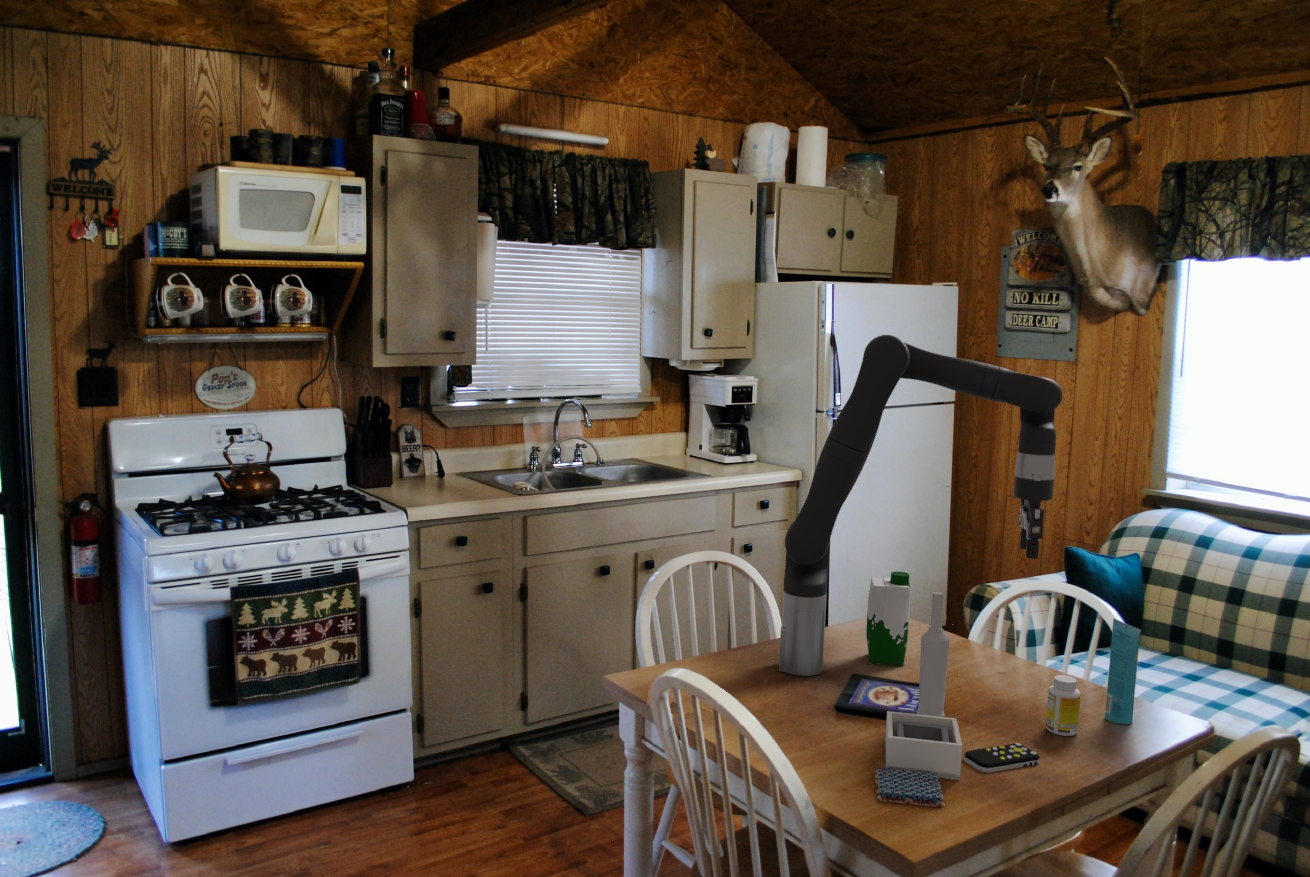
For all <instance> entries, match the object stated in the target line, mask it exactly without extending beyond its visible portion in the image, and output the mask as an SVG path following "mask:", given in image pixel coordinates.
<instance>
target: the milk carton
mask: <svg viewBox="0 0 1310 877" xmlns="http://www.w3.org/2000/svg"><path fill="white" fill-rule="evenodd" d="M910 586H911V585H910V573H908V572H905V571H892V572H891V573H890V577H873V576H872V577H870V585H869V591H868V592H869V593H868V598H867V612H866V613H867V614H866V616H867V617H866V628H865V629H866V631H865V633H866V634H865V637H866V643H867V644H866V645H867V649H868V650H867V651H868V656H869V657H868V658H869V661H870V664H871V665H872V664H873V665H884V666H885V665H887V666H901V667H903V666H904V665H905V660H906V659H905V658H906V652H907V646H908V638H909V623H910V622H909V621H910V606H911V605H910V602H911V601H910V600H911V599H910V596H911V595H910V594H911V593H910V592H911V587H910Z"/></svg>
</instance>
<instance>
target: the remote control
mask: <svg viewBox="0 0 1310 877" xmlns="http://www.w3.org/2000/svg"><path fill="white" fill-rule="evenodd" d="M1040 759H1041V757H1040V754H1038V752H1036V751H1034V750H1032V749H1031V748H1029V747H1028V746H1027V747H1026V746H1025V745H1023V744H1022V743H1019V742H1016V743H1009V744H1004V745H1003V744H1001V745H997V746H991V747H985V748H979V749H971V750H966V751H965V752H964V755H963V760H964V762H965V763H967V764H968V765H970V766H971V767H973V768H975V769H976V770H978V771H979V772H983V773H995V772H1000V771H1001V772H1002V771H1006V770H1011V769H1013V770H1014V769H1018V768H1024V767H1025V768H1026V767H1029V766H1037V765H1038V764H1040Z"/></svg>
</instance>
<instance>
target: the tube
mask: <svg viewBox="0 0 1310 877" xmlns="http://www.w3.org/2000/svg"><path fill="white" fill-rule="evenodd" d="M1111 632H1112V633H1111V642H1110V644H1111V645H1110V653H1109V654H1110V656H1109V668H1108V676H1107V677H1108V678H1107V690H1106V699H1105V700H1106V701H1105V712H1104V717H1105V719H1106V721H1108V722H1112V723H1113V724H1116V725H1117V724H1118V725H1119V724H1120V725H1129V724H1132V723H1133V717H1134V706H1135V704H1134V703H1135V694H1136V693H1135V691H1136V682H1137V672H1138V671H1137V669H1138V660H1139V659H1138V658H1139V651H1140V649H1139V648H1140V639H1141V632H1142V629H1139V628H1137V627H1135V626H1132V625H1130V624H1128V623H1125V622H1124V621H1121V620H1118V619H1116V618H1113V621H1112V631H1111Z"/></svg>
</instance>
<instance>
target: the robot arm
mask: <svg viewBox="0 0 1310 877" xmlns="http://www.w3.org/2000/svg"><path fill="white" fill-rule="evenodd" d="M901 379H906V380H907V379H908V380H914V381H919V382H926V383H929V384H933V385H937V386H940V387H942V388H946V389H949V390H952V391H955V392H958V393H961V394H964V395H968V396H972V397H975V398H979V399H984V400H988V401H992V402H999V403H1004V404H1009V405H1012V406H1014V407H1018V408H1019V416H1020V418H1019V419H1020V430H1019V431H1020V432H1019V437H1018V448H1017V457H1016V462H1015V470H1014V471H1015V472H1014V485H1013V496H1014V497H1015V498H1017V499H1018V500H1019V499H1020V508H1019V520H1018V526H1019V530H1020V536H1019V538H1020V539H1019V548H1020V549H1021V550H1025V557H1026V558H1027V559H1033V560H1037V559H1038V557H1039V549H1040V548H1039V546H1040V545H1039V543H1040V541H1041V540H1043V537H1044V534H1043V533H1044V532H1043V531H1044V515H1045V509H1042V502H1049V501H1051V500H1052V499H1053V497H1054V487H1055V486H1054V485H1055V473H1056V458H1055V457H1056V456H1055V455H1056V445H1057V432H1056V431H1057V430H1056V427H1055V412H1056V409H1057V408H1059V406H1060V404H1061V402H1062V399H1063V391H1062V388H1061V386H1060V384H1058V382H1056V381H1055V380H1053V379H1051V378H1048V377H1044V376H1037V375H1032V374H1028V373H1023V372H1018V371H1017V372H1016V371H1013V370H1011V369H1008V368H1005V367H1003V366H1002V367H1001V366H998V365H994V364H989V363H986V362H980V361H977V360H972V359H966V358H959V357H955V356H949V355H944V354H939V353H935V352H932V351H929V350H925V349H922V348H919V347H917V346H914V345H913V344H910V343H907V342H905V341H904V340H902V339H901V338H899V337H897V336H895V335H891V334H882V335H878V336H876V337H873V339H871V340H870V341H869V343H868V344H867V345H866V347H865V348H864V351H863V356H862V361H861V365H860V368H859V371H858V375H857V377H856V380H855V382H854V386H853V389H852V391H851V393H850V396H849V397H848V399H847V401H846V402H845V404H844V406H843V407H842V409H841V410H840V413H839V414H838V416H837V418H836V420H835V421H834V423H833V425H832V427H831V429H830V430H829V433H828V436H827V438H826V439H825V442H824V445H823V447H822V449H821V452H820V455H819V456H818V461H817V462H816V463H817V464H816V466H815V469H814V472H813V475H812V476H813V477H812V479H811V483H810V488H809V492H808V494H807V496H806V498H805V501H804V503H803V506H802V507H801V508H800V511H799V513H798V515H797V516H796V518H795V520H794V521H793V522H792V523H791V524H790V525H789V527H788V529H787V531H786V533H785V538H784V547H785V569H784V577H783V594H782V615H781V616H782V618H781V626H780V638H779V640H780V641H779V659H778V660H779V661H778V671H779V672H783V673H785V674H789V675H794V676H801V677H803V676H804V677H810V676H811V677H812V676H816V675H820V674H821V673H822V672H823V670H824V668H823V667H824V651H825V650H824V649H825V634H826V633H825V631H826V615H827V614H826V610H827V595H828V594H827V593H828V592H827V590H828V581H829V580H828V579H829V578H828V577H829V562H830V545H831V536H832V534H833V529H834V527H835V524H836V521H837V518H838V517H839V514H840V511H841V510H842V507H843V505H844V503H845V501H846V500H847V498H848V497H849V495H850V493H851V492H852V490H853V488H854V486H855V484H856V482H857V480H858V478H859V477H860V475H861V473H862V471H863V469H864V467H865V464H866V462H867V460H868V458H869V455H870V453H871V451H872V447H873V444H874V442H875V439H876V436H877V433H878V430H879V428H880V423H881V420H882V416H883V413H884V411H885V408H886V405H887V403H888V401H889V399H890V397H891V395H892V393H893V391H894V390H895V388H896V386H897V385H898V383H899V381H900V380H901ZM1033 531H1036V532H1033Z"/></svg>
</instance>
